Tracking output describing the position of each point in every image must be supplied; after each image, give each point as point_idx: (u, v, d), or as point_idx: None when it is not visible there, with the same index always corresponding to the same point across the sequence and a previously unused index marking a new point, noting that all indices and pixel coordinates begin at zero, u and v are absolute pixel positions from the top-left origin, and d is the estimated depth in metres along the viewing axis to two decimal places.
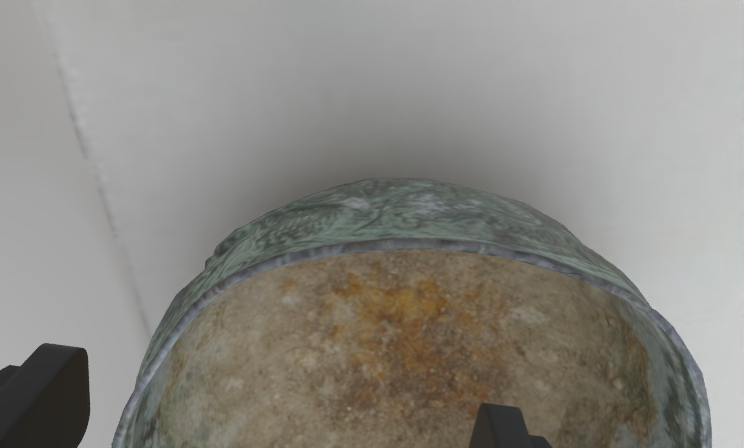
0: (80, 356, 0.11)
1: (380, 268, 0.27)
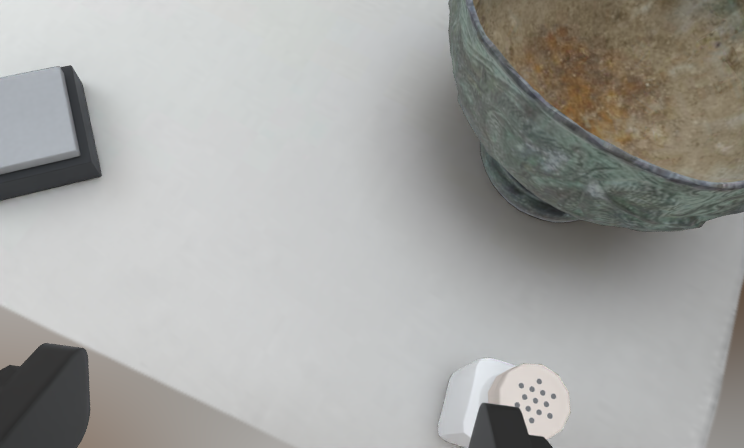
0: (80, 356, 0.11)
1: None
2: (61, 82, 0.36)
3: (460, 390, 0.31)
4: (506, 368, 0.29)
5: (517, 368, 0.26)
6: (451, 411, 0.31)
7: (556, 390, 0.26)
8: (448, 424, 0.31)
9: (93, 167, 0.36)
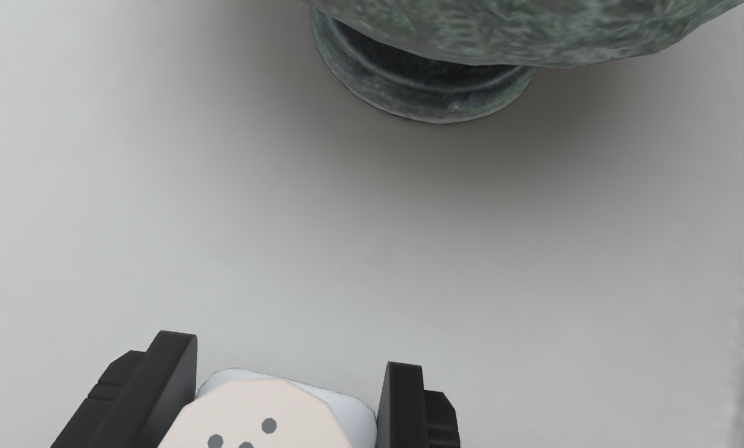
0: (193, 342, 0.12)
1: None
2: None
3: None
4: None
5: (210, 394, 0.09)
6: None
7: (317, 447, 0.09)
8: None
9: None
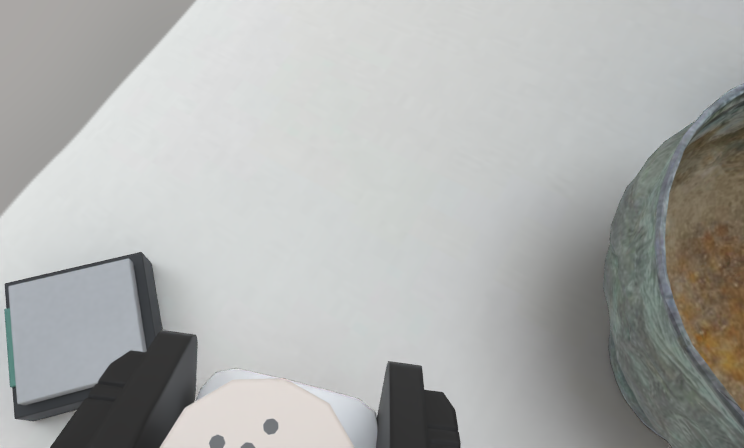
0: (193, 342, 0.12)
1: (739, 406, 0.28)
2: (131, 280, 0.31)
3: None
4: None
5: (212, 395, 0.09)
6: None
7: None
8: None
9: None
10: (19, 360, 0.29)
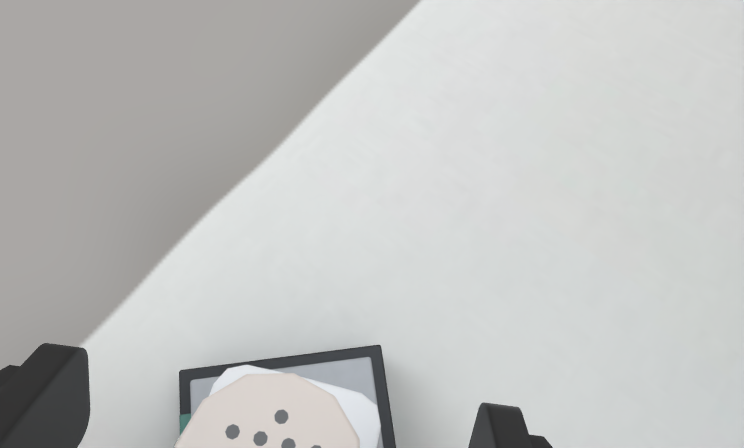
0: (80, 356, 0.11)
1: None
2: (373, 393, 0.20)
3: None
4: None
5: (227, 388, 0.10)
6: None
7: (325, 436, 0.10)
8: None
9: None
10: None
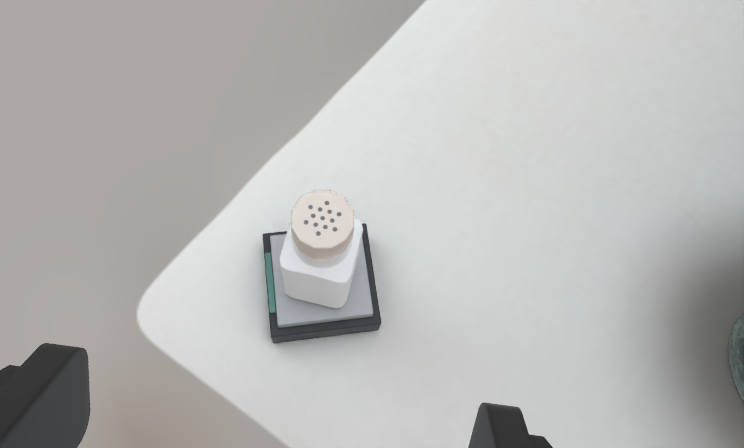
0: (80, 356, 0.11)
1: None
2: (362, 243, 0.39)
3: None
4: None
5: (308, 194, 0.30)
6: None
7: (342, 209, 0.30)
8: None
9: (379, 326, 0.39)
10: (279, 292, 0.37)
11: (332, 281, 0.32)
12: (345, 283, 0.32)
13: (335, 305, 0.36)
